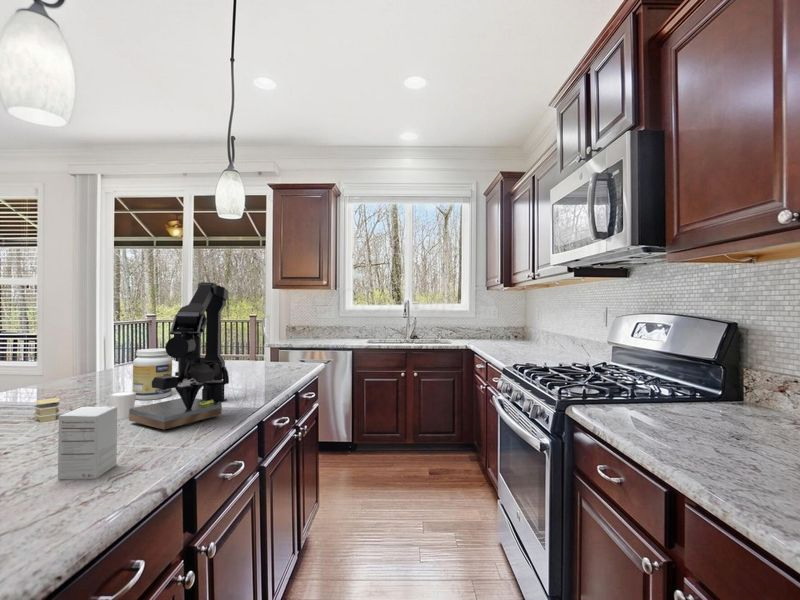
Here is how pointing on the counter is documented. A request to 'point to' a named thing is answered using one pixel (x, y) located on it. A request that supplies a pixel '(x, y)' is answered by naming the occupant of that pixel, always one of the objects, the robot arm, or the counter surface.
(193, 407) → the levelling plate
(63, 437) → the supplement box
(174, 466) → the counter surface
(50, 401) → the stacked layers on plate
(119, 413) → the white cup
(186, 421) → the brown wooden board
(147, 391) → the supplement tub
